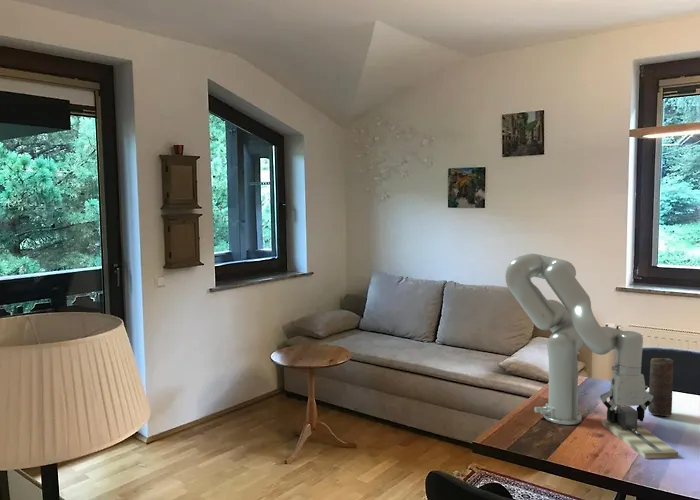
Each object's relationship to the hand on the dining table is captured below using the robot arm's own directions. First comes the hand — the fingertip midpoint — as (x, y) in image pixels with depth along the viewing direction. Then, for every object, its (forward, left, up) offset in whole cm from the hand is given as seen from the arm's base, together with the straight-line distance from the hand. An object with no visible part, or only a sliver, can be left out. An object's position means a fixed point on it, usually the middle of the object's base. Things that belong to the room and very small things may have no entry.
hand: (625, 420), depth 188 cm
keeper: (0, +5, -2) cm, 6 cm away
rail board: (0, -6, -4) cm, 7 cm away
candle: (+19, +13, -4) cm, 24 cm away
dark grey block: (0, -2, -2) cm, 3 cm away
